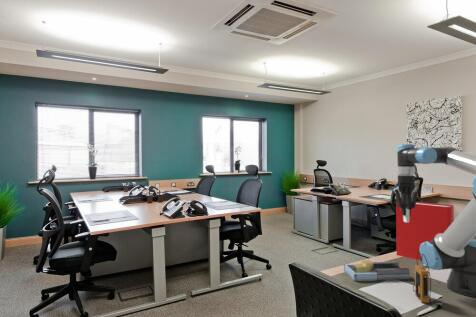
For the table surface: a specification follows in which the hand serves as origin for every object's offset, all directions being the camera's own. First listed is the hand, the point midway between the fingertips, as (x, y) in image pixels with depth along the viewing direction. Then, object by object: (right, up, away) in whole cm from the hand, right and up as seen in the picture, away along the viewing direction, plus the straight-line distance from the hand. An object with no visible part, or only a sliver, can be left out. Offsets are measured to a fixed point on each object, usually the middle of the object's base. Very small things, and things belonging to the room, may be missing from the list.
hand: (406, 221), depth 154 cm
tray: (-24, -27, -1) cm, 36 cm away
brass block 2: (-19, -24, 0) cm, 31 cm away
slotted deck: (-10, -27, 0) cm, 28 cm away
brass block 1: (-22, -24, -1) cm, 32 cm away
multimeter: (-4, -27, -27) cm, 38 cm away
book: (+23, -26, +22) cm, 41 cm away
